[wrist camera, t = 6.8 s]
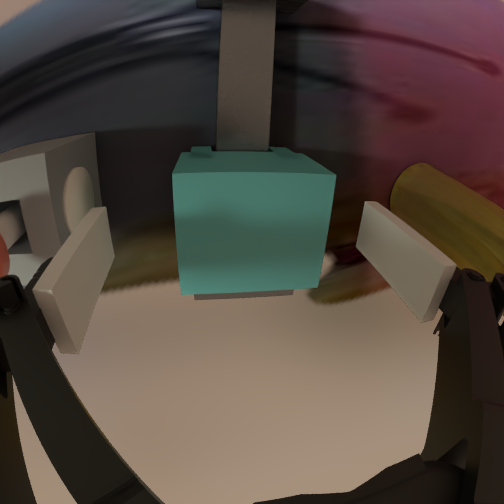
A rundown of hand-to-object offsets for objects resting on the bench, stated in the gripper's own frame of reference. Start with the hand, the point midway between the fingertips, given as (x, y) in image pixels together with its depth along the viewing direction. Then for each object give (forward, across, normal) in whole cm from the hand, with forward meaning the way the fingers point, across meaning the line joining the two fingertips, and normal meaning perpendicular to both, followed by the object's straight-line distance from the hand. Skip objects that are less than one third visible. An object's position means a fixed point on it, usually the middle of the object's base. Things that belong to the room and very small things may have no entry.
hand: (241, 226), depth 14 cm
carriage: (+6, +1, 0) cm, 6 cm away
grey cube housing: (+6, -12, +1) cm, 14 cm away
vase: (+6, +16, 0) cm, 17 cm away
